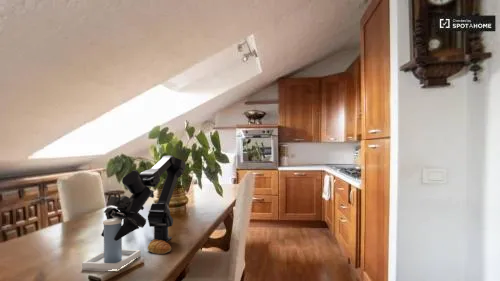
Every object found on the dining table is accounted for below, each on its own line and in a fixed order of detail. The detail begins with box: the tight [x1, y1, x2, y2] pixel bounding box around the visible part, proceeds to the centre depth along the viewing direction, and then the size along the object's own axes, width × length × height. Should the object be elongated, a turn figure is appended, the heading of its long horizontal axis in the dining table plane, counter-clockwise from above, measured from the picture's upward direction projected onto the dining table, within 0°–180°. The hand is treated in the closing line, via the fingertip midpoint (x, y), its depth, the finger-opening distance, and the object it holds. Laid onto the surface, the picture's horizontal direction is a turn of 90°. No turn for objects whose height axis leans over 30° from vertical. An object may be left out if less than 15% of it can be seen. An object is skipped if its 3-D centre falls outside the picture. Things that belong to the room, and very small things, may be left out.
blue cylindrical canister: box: [102, 218, 123, 263], centre depth 99 cm, size 6×6×14 cm
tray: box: [81, 248, 142, 272], centre depth 99 cm, size 13×13×2 cm
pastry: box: [147, 239, 172, 255], centre depth 110 cm, size 9×7×4 cm
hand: (108, 238), depth 98 cm, fingers open, 8 cm apart
